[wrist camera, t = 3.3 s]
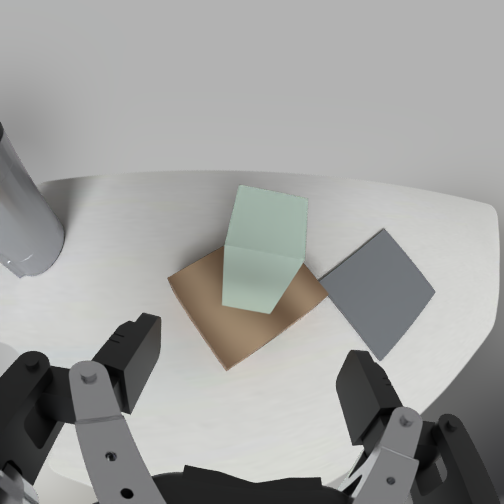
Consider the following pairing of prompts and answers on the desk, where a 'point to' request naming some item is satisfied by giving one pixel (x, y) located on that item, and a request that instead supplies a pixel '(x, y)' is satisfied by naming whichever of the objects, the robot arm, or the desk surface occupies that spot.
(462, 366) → the desk surface
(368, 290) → the charcoal mat
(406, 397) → the desk surface
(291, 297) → the walnut block
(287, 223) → the sage block
